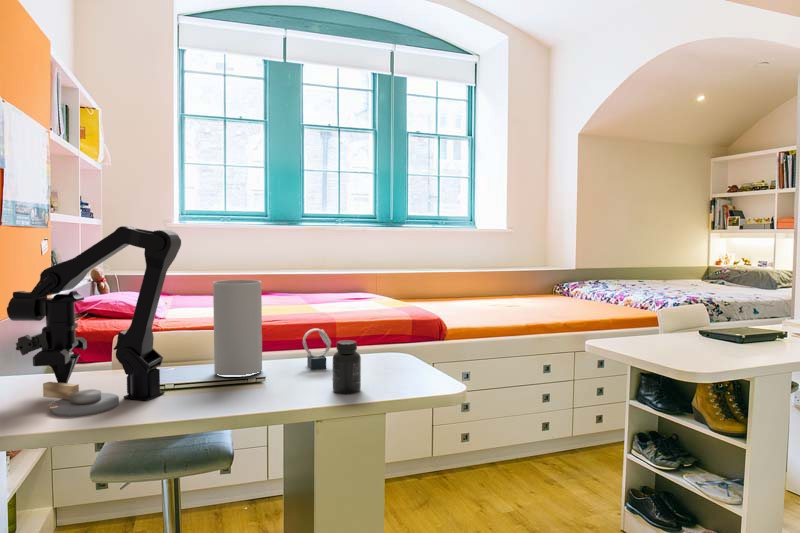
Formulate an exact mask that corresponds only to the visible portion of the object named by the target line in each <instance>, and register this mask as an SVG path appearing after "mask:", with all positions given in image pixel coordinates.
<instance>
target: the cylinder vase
mask: <svg viewBox="0 0 800 533" xmlns="http://www.w3.org/2000/svg"><path fill="white" fill-rule="evenodd" d="M212 289H213V290H212V291H213V293H212V294H213V295H212V296H213V298H212V299H213V302H212V303H213V353H214V354H213V355H214V356H213V359H214V360H213V361H214V363H213V366H214V370H213V371H214V374H215V373H216V374H219V375H246V374H252V373H257V372H260V371H261V370H263V334H262V332H263V330H262V329H263V327H262V323H263V322H262V321H263V320H262V318H263V317H262V315H263V314H262V311H263V309H262V305H263V304H262V302H263V301H262V281H261V280H259V279H258V280H256V279H225V280H224V279H223V280H216V281H213V282H212ZM261 372H262V371H261ZM261 372H260V373H261ZM216 374H215V375H216Z"/></svg>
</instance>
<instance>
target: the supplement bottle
mask: <svg viewBox="0 0 800 533" xmlns="http://www.w3.org/2000/svg"><path fill="white" fill-rule="evenodd" d="M357 344H358V343H357V341H356V340H349V339H347V340H346V339H344V340H338V341H337V342H336V352H334V353H333V355H332V391H333V392H334V393H335V394H338V395H339V394H340V395H352V394H357V393H359V392H360V391H361V387H362V385H361V384H362V383H361V382H362V381H361V378H362V373H361V372H362V359H361V354H360V353H359V352H357V350H358V347H357V346H358V345H357Z"/></svg>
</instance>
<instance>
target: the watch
mask: <svg viewBox="0 0 800 533" xmlns="http://www.w3.org/2000/svg"><path fill="white" fill-rule="evenodd" d="M313 332H318V334H319V336H320V338H321V339H322V341H323V343H324V344H325V346H326V348H325V349H324V351H323V352H321V353H316V354H314V353H312V351H311V350H310V349H309V348H308V345H307V341H306V339H307V337H308V336H309V335H310V334H312V333H313ZM302 345H303V348H304V349H305V352H306V353H307V361H306V363H307V364H306V365H307V366H308V368H309V369H310V371H315V370H326V369H327V356H325V355H327V354H328V352H329V351H330V349H331V345H332V341H331V338H329V336H328V334H327V333H326V331H325V330H324V329H323V328H322V329H320V328H311V329H309V330H308V331H306V332H305V333H304V335H303V338H302Z"/></svg>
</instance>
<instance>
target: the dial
mask: <svg viewBox="0 0 800 533" xmlns="http://www.w3.org/2000/svg"><path fill="white" fill-rule="evenodd" d="M79 384H80V383H79ZM79 384H77V383H69V382H68V383H58V382H56V381H48V382H44V383H43V384H42V392H43V394H42V397H43V398H52V399H59V400H60V399H70V404H74V405H83V404H90V403H94V402H97V401H99V400H101V393H102V390H100V389H92V388H91V389H80V386H79Z"/></svg>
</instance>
